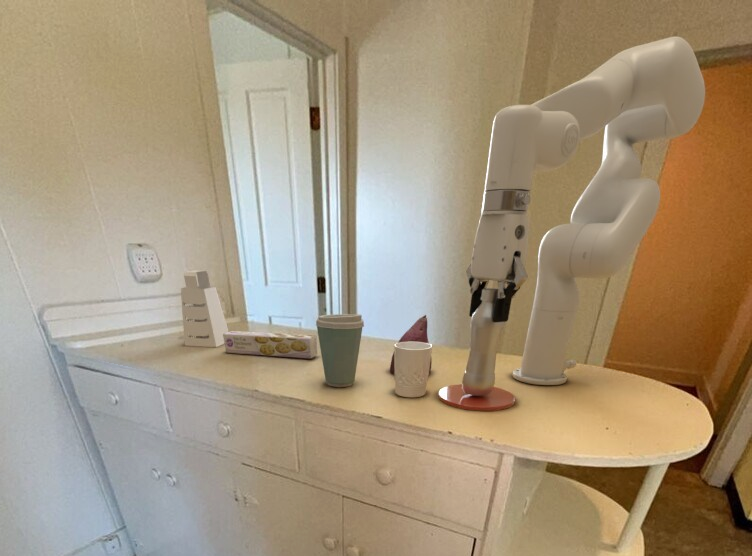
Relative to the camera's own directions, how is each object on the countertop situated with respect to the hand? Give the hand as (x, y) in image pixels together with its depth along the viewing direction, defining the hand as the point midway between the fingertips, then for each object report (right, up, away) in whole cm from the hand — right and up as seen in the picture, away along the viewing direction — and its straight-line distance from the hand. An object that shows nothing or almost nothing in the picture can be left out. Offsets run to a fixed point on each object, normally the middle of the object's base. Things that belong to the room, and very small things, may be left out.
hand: (487, 318), depth 82 cm
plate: (0, -13, +9) cm, 16 cm away
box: (-51, +8, +41) cm, 66 cm away
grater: (-74, +16, +54) cm, 93 cm away
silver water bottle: (0, -13, +8) cm, 15 cm away
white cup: (-14, -12, +11) cm, 21 cm away
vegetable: (-12, -2, +26) cm, 29 cm away
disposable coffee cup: (-30, -8, +17) cm, 35 cm away
